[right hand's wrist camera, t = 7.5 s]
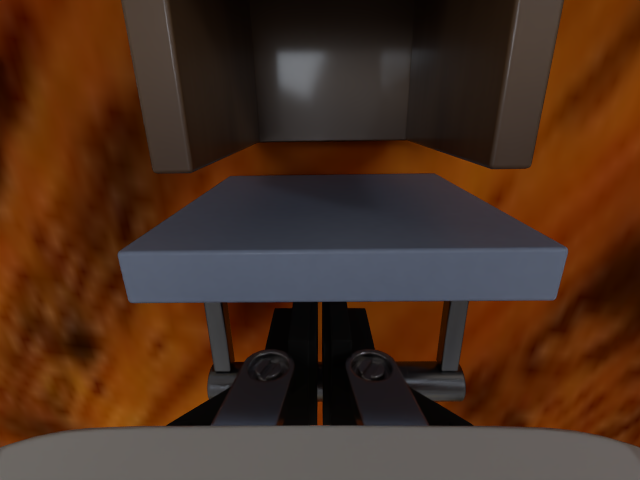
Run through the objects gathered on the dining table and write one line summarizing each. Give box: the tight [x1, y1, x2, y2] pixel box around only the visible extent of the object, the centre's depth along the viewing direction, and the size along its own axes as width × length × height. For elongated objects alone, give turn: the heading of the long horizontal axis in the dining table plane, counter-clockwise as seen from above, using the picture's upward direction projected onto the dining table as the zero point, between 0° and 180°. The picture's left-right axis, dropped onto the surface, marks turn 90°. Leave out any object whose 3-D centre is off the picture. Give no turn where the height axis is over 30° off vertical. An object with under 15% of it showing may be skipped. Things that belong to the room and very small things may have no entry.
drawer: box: [118, 0, 568, 402], centre depth 10 cm, size 18×9×9 cm, turn 1°
